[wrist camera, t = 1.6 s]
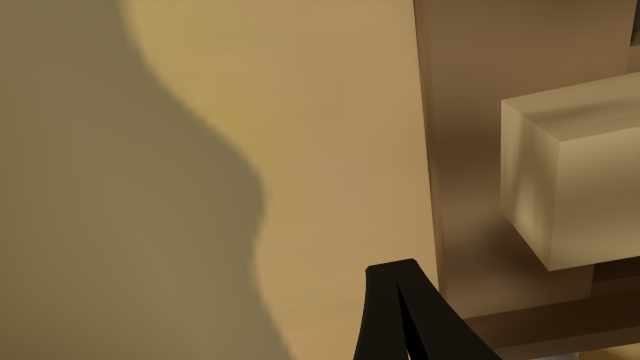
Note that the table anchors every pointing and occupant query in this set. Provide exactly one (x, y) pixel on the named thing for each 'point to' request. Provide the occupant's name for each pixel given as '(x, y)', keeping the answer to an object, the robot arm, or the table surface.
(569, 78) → the trap board
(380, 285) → the robot arm
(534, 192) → the maple block
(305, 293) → the table surface
